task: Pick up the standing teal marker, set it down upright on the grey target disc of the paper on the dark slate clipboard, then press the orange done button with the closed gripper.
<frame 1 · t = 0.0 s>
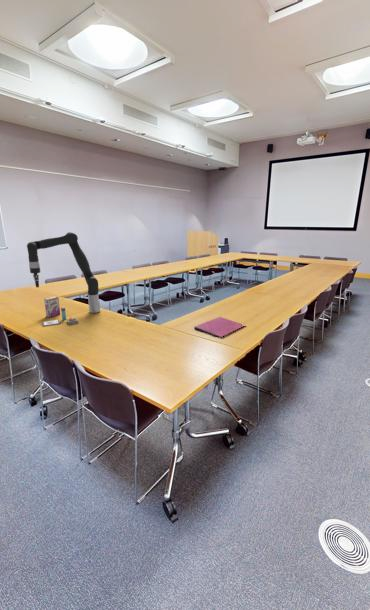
hand: (37, 286, 242), 29 cm above the table, fingers open, 8 cm apart
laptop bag: (219, 329, 236), on the table
button housing: (72, 322, 243), on the table
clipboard: (51, 323, 241), on the table
done button: (72, 319, 243), point 3 cm above the table, slide at 0.0 cm
marker: (64, 319, 250), on the table
candy bar box: (53, 315, 260), on the table
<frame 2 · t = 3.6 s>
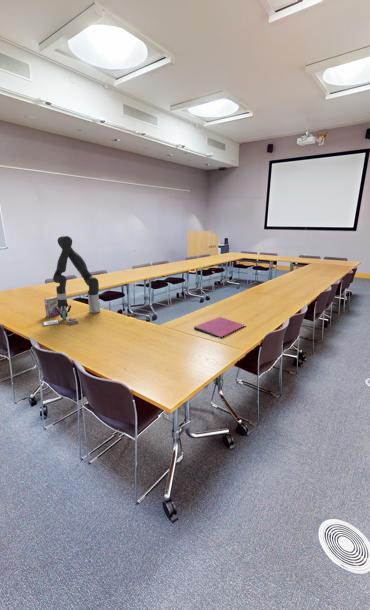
hand: (64, 317, 249), 2 cm above the table, fingers closed on marker, 3 cm apart
marker: (64, 319, 250), on the table, touching gripper
everything else where it was.
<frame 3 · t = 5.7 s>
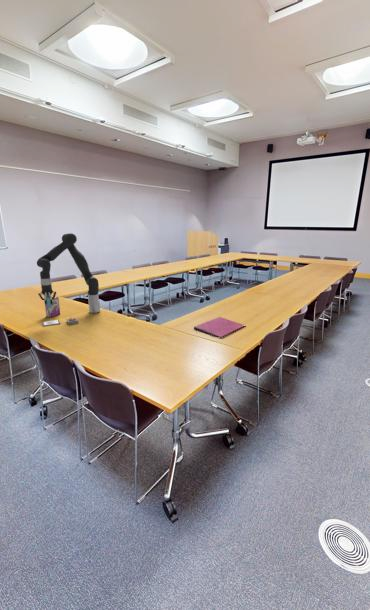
hand: (48, 304, 236), 17 cm above the table, fingers closed on marker, 3 cm apart
marker: (49, 306, 237), point 14 cm above the table, touching gripper
everything else where it was.
when the fingers open (3 cm above the table, at t = 8.3 s): marker stays where it is, resting on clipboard.
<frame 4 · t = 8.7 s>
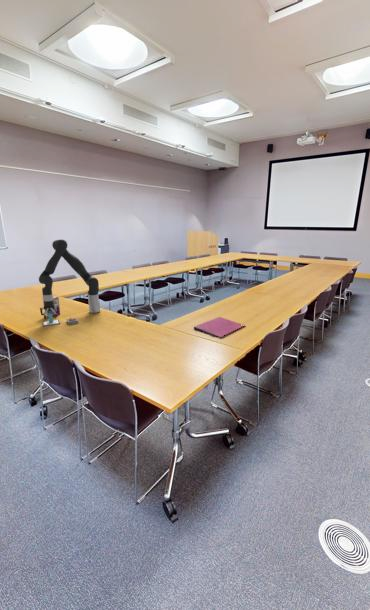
hand: (50, 318, 240), 4 cm above the table, fingers open, 7 cm apart
marker: (51, 322, 241), point 1 cm above the table, touching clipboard
everything else where it was.
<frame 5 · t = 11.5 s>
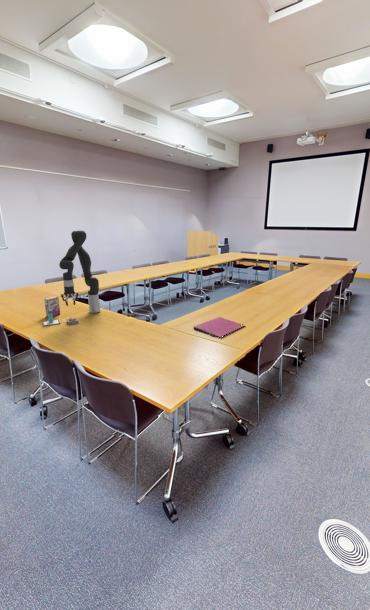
hand: (70, 305, 239), 15 cm above the table, fingers open, 4 cm apart
nothing on the table moved.
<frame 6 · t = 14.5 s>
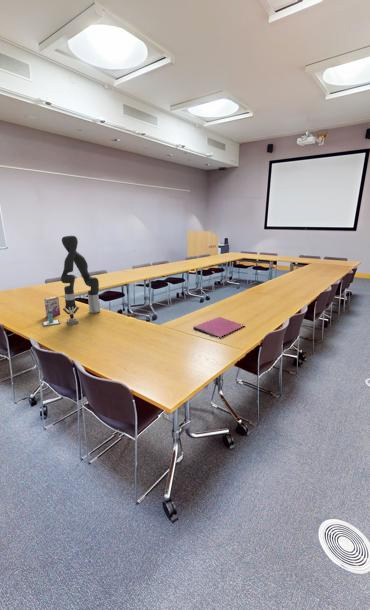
hand: (71, 318, 242), 4 cm above the table, fingers closed
done button: (72, 319, 243), point 2 cm above the table, slide at -0.3 cm, touching gripper
everything else where it was.
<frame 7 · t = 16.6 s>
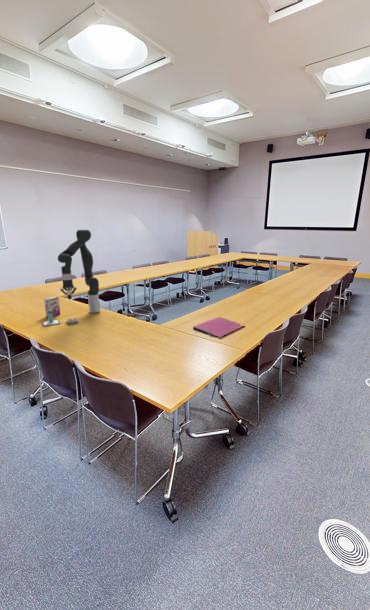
hand: (69, 299, 239), 20 cm above the table, fingers closed
done button: (72, 320, 243), point 2 cm above the table, slide at -0.9 cm
everything else where it was.
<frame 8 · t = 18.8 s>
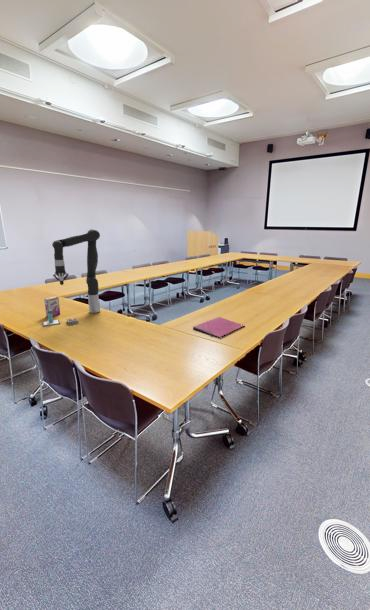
hand: (61, 284, 249), 29 cm above the table, fingers closed
at the end: marker inside the target area on the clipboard (0.1 cm from its centre), point 0.9 cm above the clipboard's base; marker tilted 0°; done button slide at -0.9 cm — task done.
